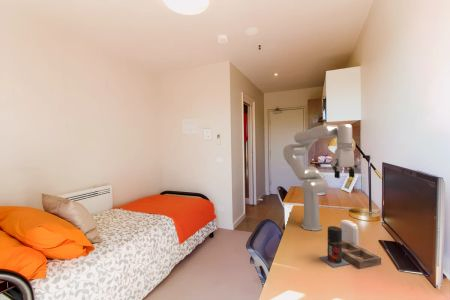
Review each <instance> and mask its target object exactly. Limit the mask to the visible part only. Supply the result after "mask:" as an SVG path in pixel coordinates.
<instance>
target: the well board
mask: <svg viewBox="0 0 450 300" xmlns="http://www.w3.org/2000/svg"><path fill="white" fill-rule="evenodd" d="M347 249H348V250H347ZM359 257H360V258H359ZM361 257H362V258H364V259H361ZM342 259H343V260H345V261H346V262H348V263H349V264H352V265H353V266H355V267H356V268H358V269H365V268H369V267H370V268H371V267H374V266H381V265H382V257H381V256H379V255H376V254H374V253H373V252H370V251H369V250H367V249H365V248H363V247H361V246H360V245H359V246H357V245H355V244H354V243H352V242H350V241H348V242H343V241H342Z"/></svg>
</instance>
